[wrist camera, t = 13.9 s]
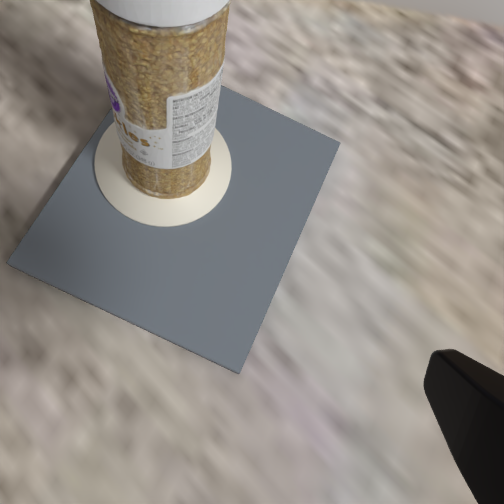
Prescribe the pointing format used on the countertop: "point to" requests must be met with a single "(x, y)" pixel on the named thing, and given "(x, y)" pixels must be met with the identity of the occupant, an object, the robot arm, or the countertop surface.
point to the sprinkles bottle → (163, 87)
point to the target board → (185, 231)
